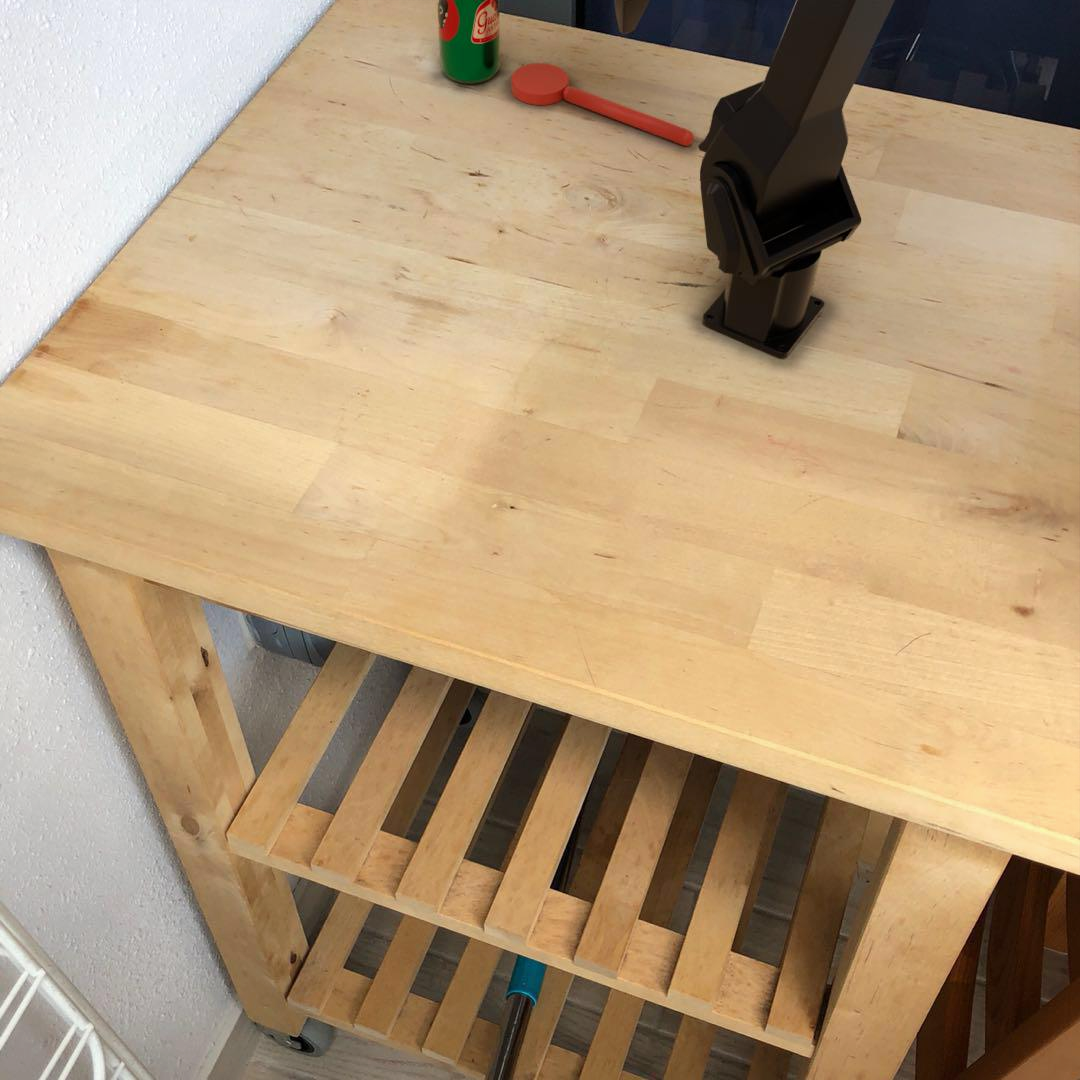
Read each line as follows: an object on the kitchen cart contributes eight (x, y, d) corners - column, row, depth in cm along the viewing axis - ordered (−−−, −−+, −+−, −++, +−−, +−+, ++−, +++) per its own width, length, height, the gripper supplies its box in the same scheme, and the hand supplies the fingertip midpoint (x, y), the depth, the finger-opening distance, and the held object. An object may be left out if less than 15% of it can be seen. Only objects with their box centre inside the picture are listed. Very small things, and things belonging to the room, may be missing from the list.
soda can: (485, 92, 99) (481, -52, 90) (430, 79, 101) (421, -65, 91) (509, 63, 102) (508, -80, 93) (456, 50, 103) (450, -93, 94)
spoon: (706, 132, 96) (708, 119, 95) (677, 161, 94) (678, 148, 93) (531, 67, 102) (532, 54, 101) (500, 93, 99) (499, 80, 98)
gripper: (809, -222, 70) (758, 26, 83) (604, -327, 78) (587, -87, 91) (668, -174, 66) (638, 79, 78) (468, -291, 74) (470, -44, 86)
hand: (584, 1), depth 83 cm, fingers open, 9 cm apart
